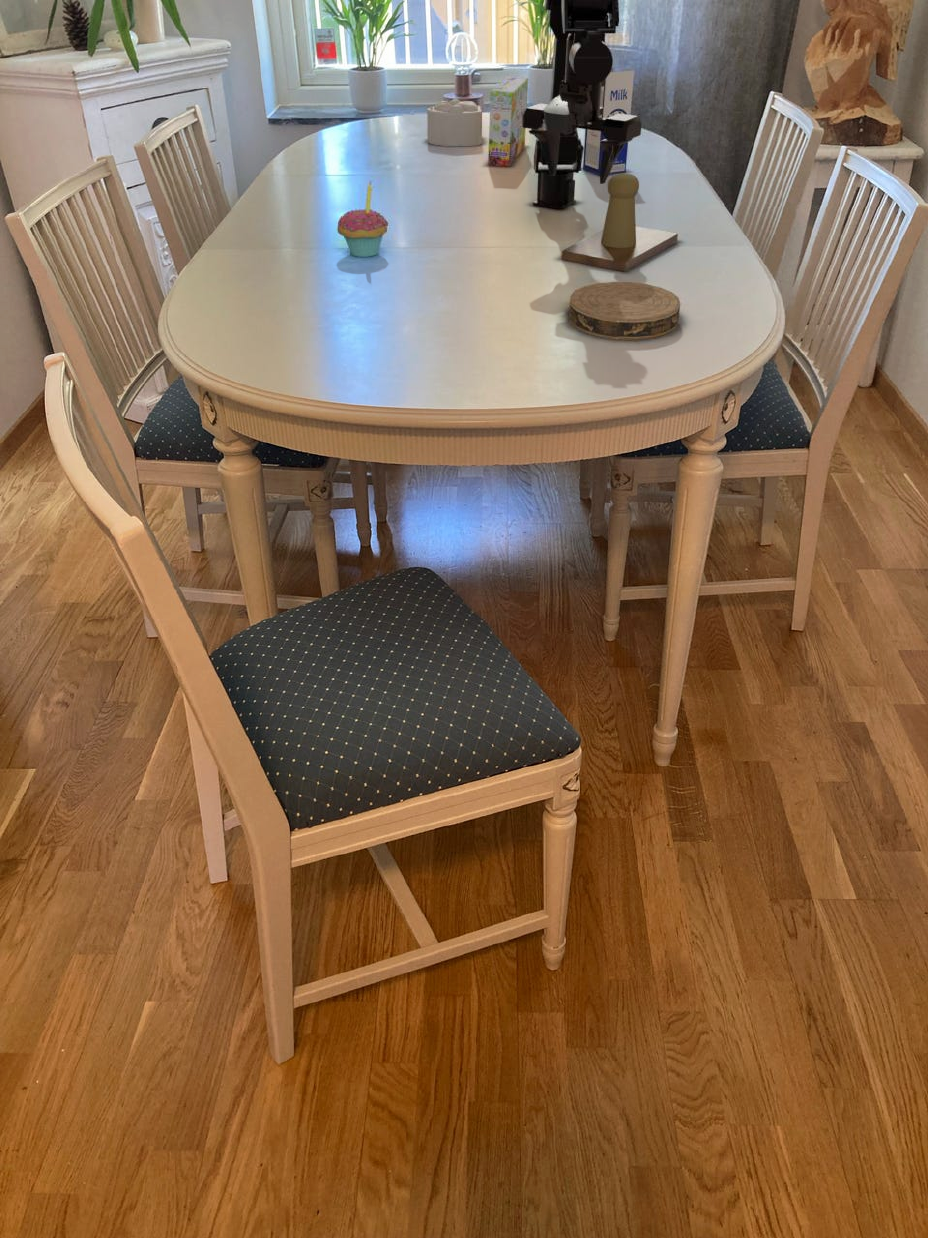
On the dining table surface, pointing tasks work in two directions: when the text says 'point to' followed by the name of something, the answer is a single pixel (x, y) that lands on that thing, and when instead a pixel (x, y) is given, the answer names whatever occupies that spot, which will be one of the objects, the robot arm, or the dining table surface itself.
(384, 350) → the dining table surface
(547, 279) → the dining table surface
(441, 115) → the lumpy-topped squat cylinder
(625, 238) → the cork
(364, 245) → the cupcake
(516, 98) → the snack box
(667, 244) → the serving board
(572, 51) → the robot arm
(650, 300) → the wood slice
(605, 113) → the milk carton
